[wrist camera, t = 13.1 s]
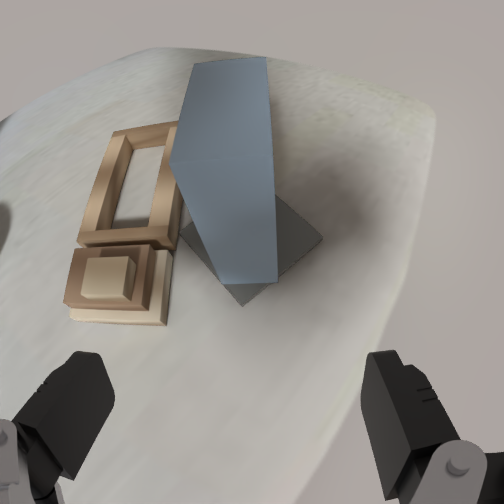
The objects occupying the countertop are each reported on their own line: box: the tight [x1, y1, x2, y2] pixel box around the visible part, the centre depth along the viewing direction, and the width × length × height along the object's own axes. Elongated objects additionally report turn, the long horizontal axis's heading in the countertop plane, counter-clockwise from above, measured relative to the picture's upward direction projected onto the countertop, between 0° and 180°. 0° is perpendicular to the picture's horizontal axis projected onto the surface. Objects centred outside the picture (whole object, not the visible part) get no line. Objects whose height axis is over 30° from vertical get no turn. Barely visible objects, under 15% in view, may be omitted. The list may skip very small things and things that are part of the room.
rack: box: [63, 121, 183, 326], centre depth 22 cm, size 17×7×4 cm, turn 0°
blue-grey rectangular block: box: [169, 57, 278, 284], centre depth 17 cm, size 7×4×11 cm, turn 0°
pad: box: [179, 195, 323, 307], centre depth 22 cm, size 7×7×1 cm
